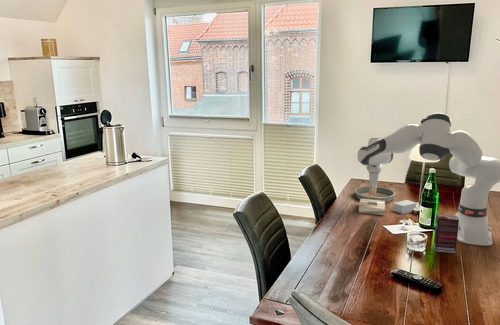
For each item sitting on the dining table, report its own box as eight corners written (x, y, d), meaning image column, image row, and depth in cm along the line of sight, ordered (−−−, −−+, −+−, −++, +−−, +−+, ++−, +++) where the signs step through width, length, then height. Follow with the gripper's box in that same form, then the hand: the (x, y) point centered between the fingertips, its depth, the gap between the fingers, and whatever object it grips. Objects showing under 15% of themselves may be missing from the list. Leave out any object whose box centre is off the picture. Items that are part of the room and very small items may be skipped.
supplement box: (453, 248, 177) (457, 215, 174) (455, 253, 173) (459, 219, 169) (432, 246, 179) (436, 214, 176) (434, 251, 175) (438, 218, 171)
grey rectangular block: (402, 214, 221) (402, 206, 219) (393, 211, 226) (393, 202, 225) (415, 211, 226) (416, 202, 224) (406, 207, 231) (407, 199, 230)
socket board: (384, 215, 219) (385, 208, 218) (358, 212, 223) (359, 206, 222) (384, 207, 232) (384, 200, 231) (359, 205, 236) (360, 198, 235)
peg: (376, 195, 223) (377, 180, 221) (368, 195, 224) (369, 180, 222) (376, 193, 226) (377, 178, 224) (368, 193, 228) (369, 178, 225)
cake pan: (358, 190, 265) (358, 184, 264) (396, 195, 255) (397, 188, 254) (350, 201, 244) (350, 194, 243) (392, 206, 233) (392, 199, 232)
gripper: (369, 161, 232) (367, 184, 235) (368, 169, 213) (366, 193, 216) (380, 162, 230) (378, 184, 233) (380, 170, 211) (378, 194, 214)
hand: (372, 189), depth 224 cm, fingers closed on peg, 4 cm apart
